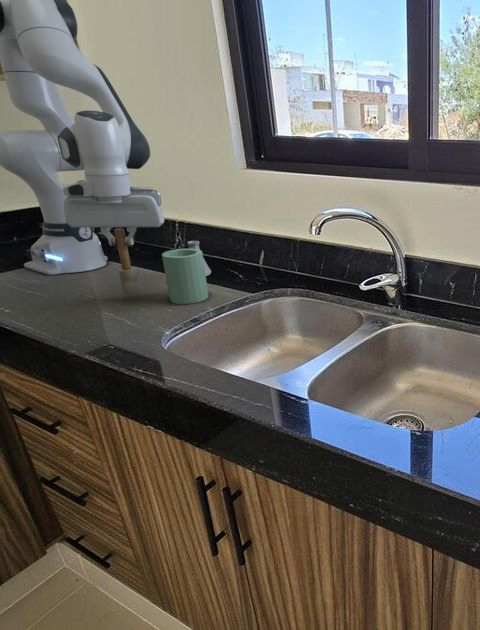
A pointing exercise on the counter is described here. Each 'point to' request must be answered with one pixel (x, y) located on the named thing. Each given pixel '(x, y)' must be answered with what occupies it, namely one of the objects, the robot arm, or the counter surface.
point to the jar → (185, 275)
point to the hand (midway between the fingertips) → (121, 245)
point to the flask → (207, 271)
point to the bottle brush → (126, 265)
